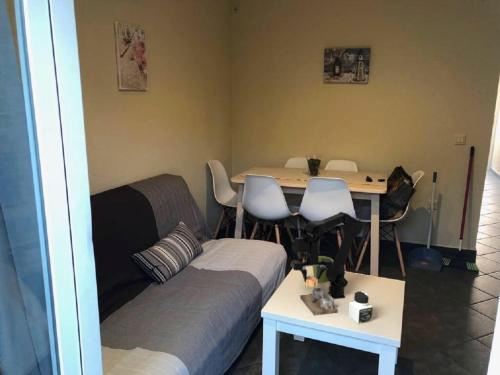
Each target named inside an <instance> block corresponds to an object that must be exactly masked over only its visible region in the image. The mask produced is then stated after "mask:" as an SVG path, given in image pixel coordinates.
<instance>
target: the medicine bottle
mask: <svg viewBox="0 0 500 375" xmlns="http://www.w3.org/2000/svg"><path fill="white" fill-rule="evenodd" d="M353 295H354V296H353V301H350V302H349V304H348V318H350V320H352V321H353V322H355V323H356V324H357V325H361V324H365V323H369V322H372V321H373V320H372V319H373V305H371V304H370V303H369V301H370V295H369V293H367V292H365V291H361V290H360V291H359V290H358V291H356V292H355V293H354V294H353Z"/></svg>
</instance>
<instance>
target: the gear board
mask: <svg viewBox="0 0 500 375" xmlns="http://www.w3.org/2000/svg"><path fill="white" fill-rule="evenodd" d="M325 292H326V290H325V289H322V288H320V287H317V288H315V287H313V288H312V292H311V293H310V294H309V293H308V294H301V295H299V297H300V300H301V301H302V302H303V304H305V306H306V308H308V310H309V311H310V312H311V313H312V315H313V316H320V315H330V314H331V315H332V314H337V313H338V309H337V308H336V307H335V306H334V304H335V299H333V298H332V297H331V298H330V297H327V296H325Z"/></svg>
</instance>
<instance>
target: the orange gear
mask: <svg viewBox="0 0 500 375" xmlns="http://www.w3.org/2000/svg"><path fill="white" fill-rule="evenodd" d="M303 281H304V280H303ZM304 284H305V286H306V287H309V288H315V287H317V286H319V282H318V279H317V278H316V277H314V275H313V276H311V275H307V280H306V282H305V281H304Z"/></svg>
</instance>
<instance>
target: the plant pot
mask: <svg viewBox="0 0 500 375" xmlns="http://www.w3.org/2000/svg"><path fill="white" fill-rule="evenodd" d="M323 258H329V259H330V260H331V261H332V262H333V263H334V259H333V258H331V257H328V256H324V255H322V256H321V255H320V256H319V260H318V261H321V259H323ZM312 271H313V277H316V274H317V266H312ZM325 282H328V280H327V277H326V270H325V271H324V272H323V274H322V275H321V277H320V278H319V280H318V283H325Z"/></svg>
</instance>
